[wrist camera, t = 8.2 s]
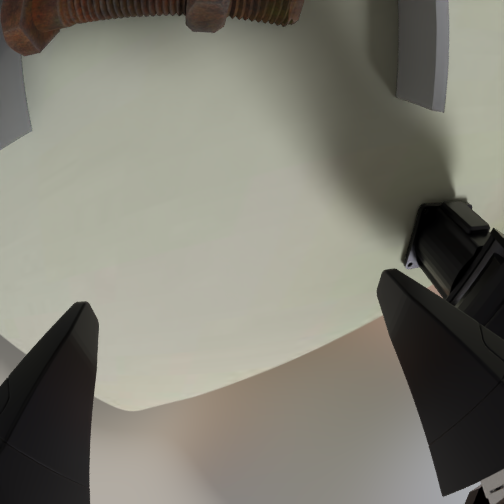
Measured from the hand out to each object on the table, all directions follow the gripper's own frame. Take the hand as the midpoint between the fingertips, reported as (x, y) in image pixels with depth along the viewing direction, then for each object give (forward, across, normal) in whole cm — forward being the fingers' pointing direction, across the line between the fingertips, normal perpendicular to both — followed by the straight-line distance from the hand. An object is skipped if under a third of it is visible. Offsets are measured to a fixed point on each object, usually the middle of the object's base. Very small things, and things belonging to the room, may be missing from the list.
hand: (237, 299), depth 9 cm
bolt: (+12, +3, -11) cm, 17 cm away
